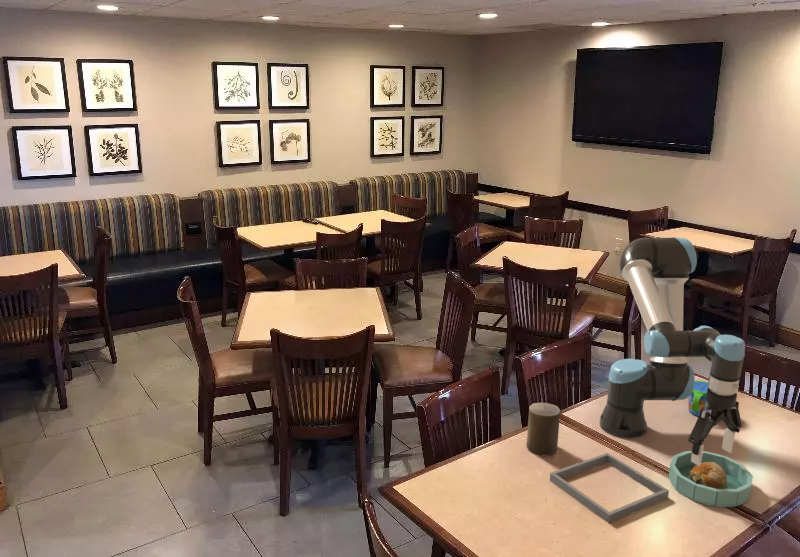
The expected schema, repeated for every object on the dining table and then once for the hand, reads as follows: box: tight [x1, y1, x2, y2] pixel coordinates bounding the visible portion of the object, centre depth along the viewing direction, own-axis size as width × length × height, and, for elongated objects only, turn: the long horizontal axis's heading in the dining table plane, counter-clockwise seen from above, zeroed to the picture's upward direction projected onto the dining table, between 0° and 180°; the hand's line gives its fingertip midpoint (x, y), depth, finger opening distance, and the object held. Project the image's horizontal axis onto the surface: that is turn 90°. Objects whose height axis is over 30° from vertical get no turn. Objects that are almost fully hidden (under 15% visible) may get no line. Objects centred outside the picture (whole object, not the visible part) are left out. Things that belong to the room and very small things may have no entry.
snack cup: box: [687, 380, 709, 417], centre depth 234 cm, size 16×10×10 cm
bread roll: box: [690, 462, 728, 489], centre depth 191 cm, size 10×10×8 cm
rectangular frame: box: [549, 452, 670, 524], centre depth 190 cm, size 23×23×2 cm
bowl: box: [668, 450, 754, 508], centre depth 191 cm, size 21×21×5 cm
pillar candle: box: [526, 402, 561, 456], centre depth 210 cm, size 10×10×15 cm
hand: (711, 456), depth 190 cm, fingers open, 13 cm apart
